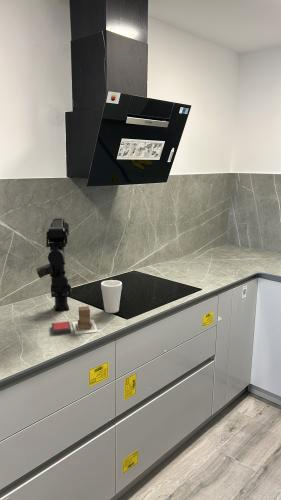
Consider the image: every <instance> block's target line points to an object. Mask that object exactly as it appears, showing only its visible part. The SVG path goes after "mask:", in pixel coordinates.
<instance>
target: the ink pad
mask: <svg viewBox="0 0 281 500" xmlns="http://www.w3.org/2000/svg"><path fill="white" fill-rule="evenodd" d="M51 329H52V336H54V335H63V334H64V335H65V334H71V333H72V328H71V324H70V321H60V322H59V321H58V322H51Z"/></svg>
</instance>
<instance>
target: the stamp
mask: <svg viewBox="0 0 281 500" xmlns="http://www.w3.org/2000/svg"><path fill="white" fill-rule="evenodd" d="M90 320H91V309H90V307H89V305H85V306H78V320H77V321H78V327H79V330H81V329H91V328H92V324H91V321H90Z"/></svg>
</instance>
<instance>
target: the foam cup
mask: <svg viewBox="0 0 281 500" xmlns="http://www.w3.org/2000/svg"><path fill="white" fill-rule="evenodd" d="M100 288H101V293H102V299H103V300H102V301H103V307H104V311H105V313H107V314H108V313H109V314H115V313H118V312H119V310H120V303H121V302H120V301H121V294H122V289H123V283H122V281H120V280H116V279H115V280H113V279H109V280H103V281H101V282H100Z"/></svg>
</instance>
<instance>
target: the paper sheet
mask: <svg viewBox="0 0 281 500" xmlns="http://www.w3.org/2000/svg"><path fill="white" fill-rule="evenodd" d="M90 321H91V324H92V328H91V329H81V330H79V327H78V320H77V321H72V322H71V323H72V328H73V331H74V334H75V335H76V336H77V335H85V334H93V333H94V332H95V333H98V332H99V330H98V328H97V325H96V323H95V320H94V319H90ZM95 333H94V334H95Z"/></svg>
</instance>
